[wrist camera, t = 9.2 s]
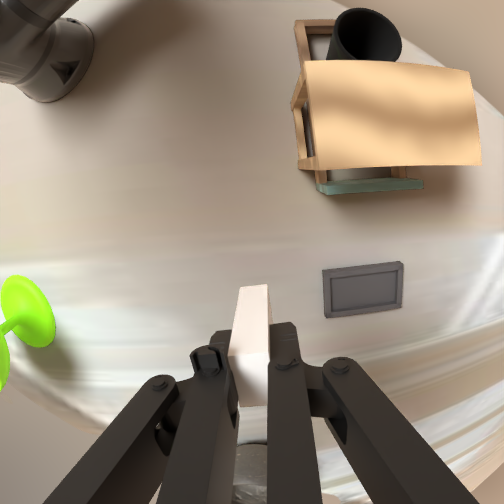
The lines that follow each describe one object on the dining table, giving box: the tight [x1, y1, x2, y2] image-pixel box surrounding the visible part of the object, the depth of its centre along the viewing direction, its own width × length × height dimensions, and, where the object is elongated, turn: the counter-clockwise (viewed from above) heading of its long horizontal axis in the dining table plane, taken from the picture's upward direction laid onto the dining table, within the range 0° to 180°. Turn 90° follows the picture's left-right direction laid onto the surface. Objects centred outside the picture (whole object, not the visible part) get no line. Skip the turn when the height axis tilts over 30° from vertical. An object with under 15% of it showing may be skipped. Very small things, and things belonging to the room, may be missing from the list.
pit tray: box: [322, 261, 403, 318], centre depth 44 cm, size 7×12×2 cm, turn 97°
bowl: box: [231, 444, 267, 504], centre depth 50 cm, size 18×18×13 cm
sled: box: [294, 20, 423, 195], centre depth 34 cm, size 24×12×8 cm, turn 7°
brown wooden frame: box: [291, 60, 482, 170], centre depth 31 cm, size 9×16×18 cm, turn 97°
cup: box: [326, 8, 402, 62], centre depth 31 cm, size 8×8×12 cm
